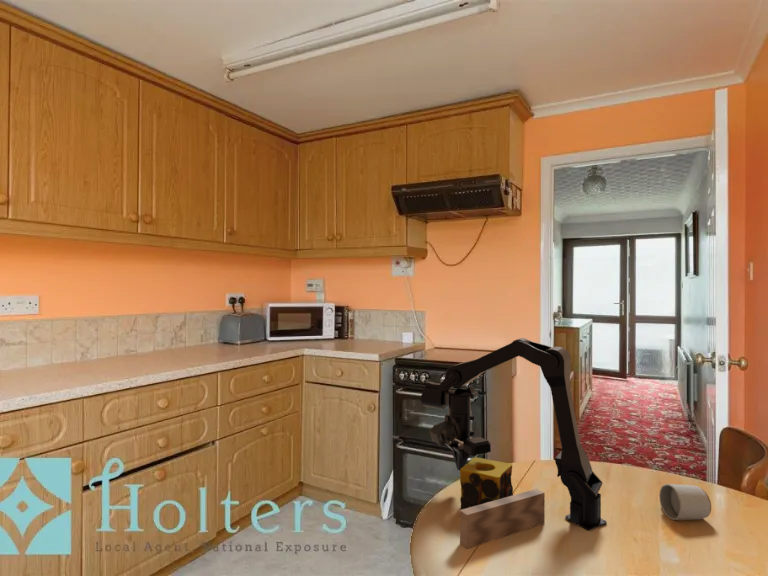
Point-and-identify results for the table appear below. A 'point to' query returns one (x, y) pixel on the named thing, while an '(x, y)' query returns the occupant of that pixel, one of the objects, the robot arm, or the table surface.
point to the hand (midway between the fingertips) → (459, 470)
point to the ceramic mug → (684, 502)
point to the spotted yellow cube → (484, 482)
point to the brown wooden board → (501, 518)
